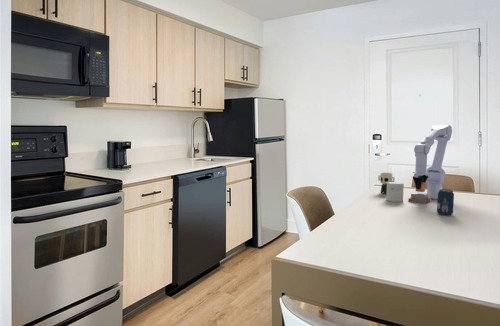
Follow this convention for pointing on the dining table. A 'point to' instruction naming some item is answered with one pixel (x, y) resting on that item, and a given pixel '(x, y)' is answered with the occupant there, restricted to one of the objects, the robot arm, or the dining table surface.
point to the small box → (395, 191)
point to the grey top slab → (419, 195)
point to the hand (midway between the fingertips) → (420, 188)
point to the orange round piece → (421, 188)
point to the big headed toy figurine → (385, 181)
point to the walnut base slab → (419, 200)
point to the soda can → (445, 202)
